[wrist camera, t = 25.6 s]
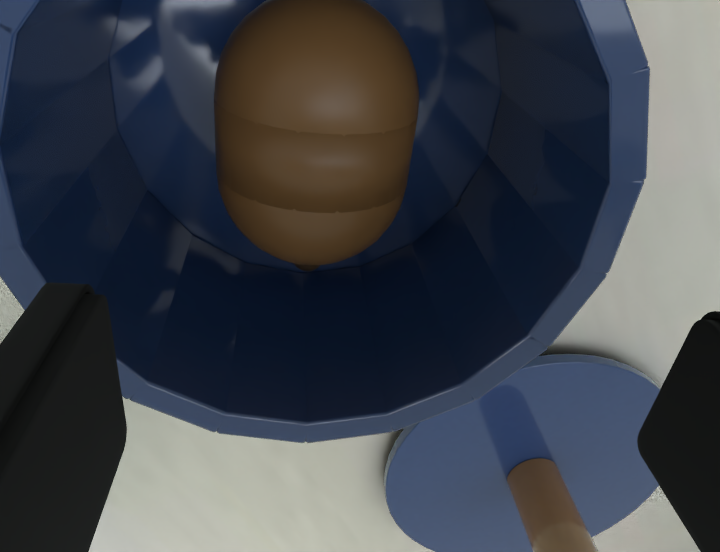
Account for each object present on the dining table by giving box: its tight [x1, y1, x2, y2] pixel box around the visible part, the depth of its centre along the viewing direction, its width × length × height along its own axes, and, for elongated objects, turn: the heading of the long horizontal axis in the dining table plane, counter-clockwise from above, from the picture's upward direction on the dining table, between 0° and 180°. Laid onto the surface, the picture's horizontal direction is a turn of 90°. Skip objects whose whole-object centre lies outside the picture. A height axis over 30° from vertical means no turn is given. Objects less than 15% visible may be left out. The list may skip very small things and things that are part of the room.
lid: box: [384, 354, 660, 552], centre depth 26 cm, size 15×15×6 cm
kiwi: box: [214, 0, 419, 271], centre depth 16 cm, size 8×5×5 cm
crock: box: [0, 0, 650, 443], centre depth 15 cm, size 14×14×8 cm
